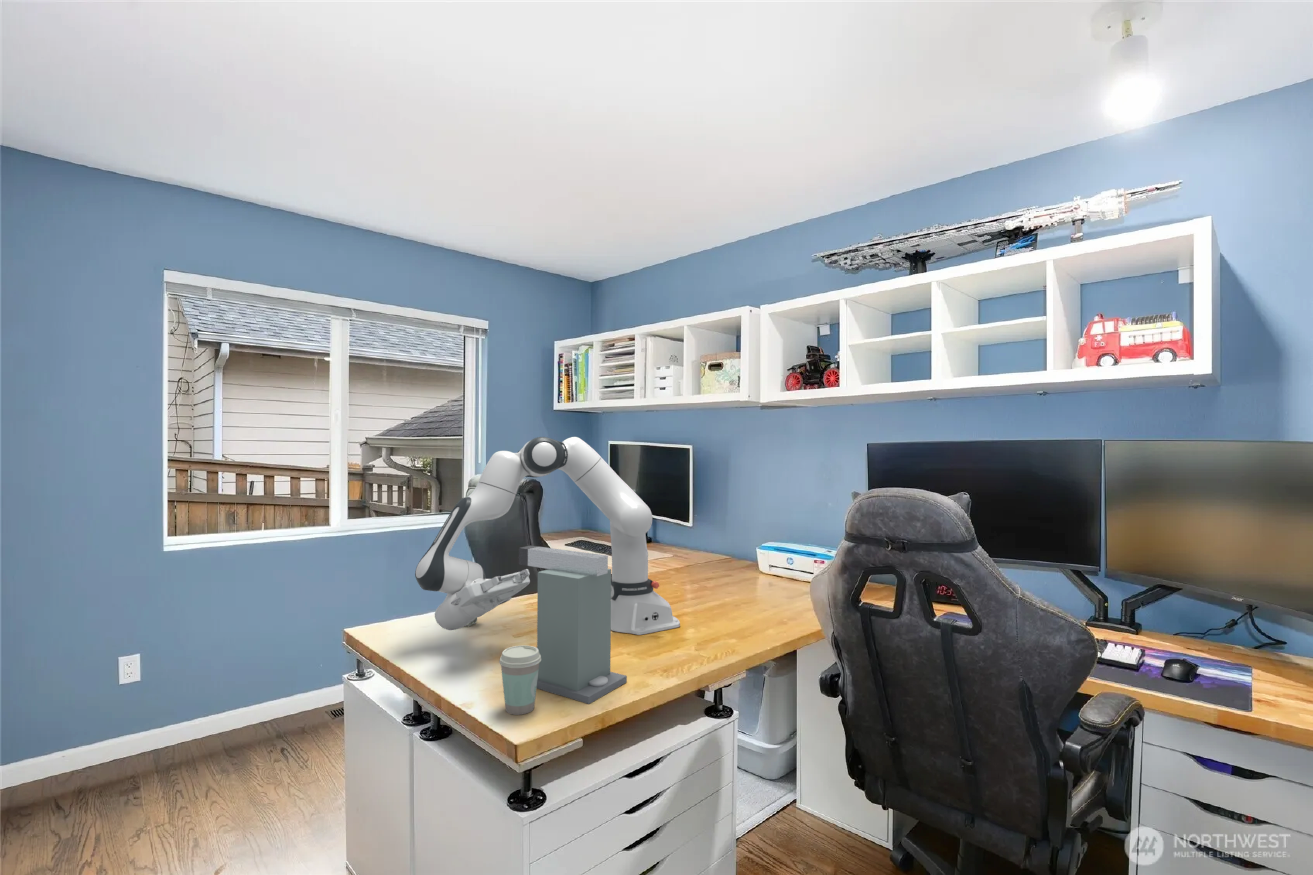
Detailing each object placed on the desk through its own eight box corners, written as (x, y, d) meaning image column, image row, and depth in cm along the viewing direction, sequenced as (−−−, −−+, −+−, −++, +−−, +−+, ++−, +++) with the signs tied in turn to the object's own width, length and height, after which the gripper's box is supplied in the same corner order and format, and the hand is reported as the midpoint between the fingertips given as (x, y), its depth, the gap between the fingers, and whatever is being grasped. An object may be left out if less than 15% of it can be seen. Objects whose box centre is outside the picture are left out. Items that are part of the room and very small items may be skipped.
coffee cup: (538, 717, 122) (538, 658, 122) (495, 718, 121) (496, 658, 122) (542, 699, 131) (543, 644, 131) (502, 700, 130) (503, 644, 130)
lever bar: (518, 564, 147) (518, 547, 147) (530, 561, 150) (530, 545, 150) (596, 576, 134) (597, 558, 134) (607, 573, 137) (607, 555, 138)
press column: (533, 687, 137) (534, 572, 137) (573, 668, 149) (574, 562, 149) (588, 703, 128) (589, 581, 129) (626, 682, 140) (627, 570, 141)
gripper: (443, 593, 149) (476, 571, 143) (504, 578, 166) (537, 557, 160) (451, 617, 147) (485, 596, 141) (512, 599, 165) (545, 579, 158)
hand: (513, 575), depth 151 cm, fingers open, 8 cm apart
